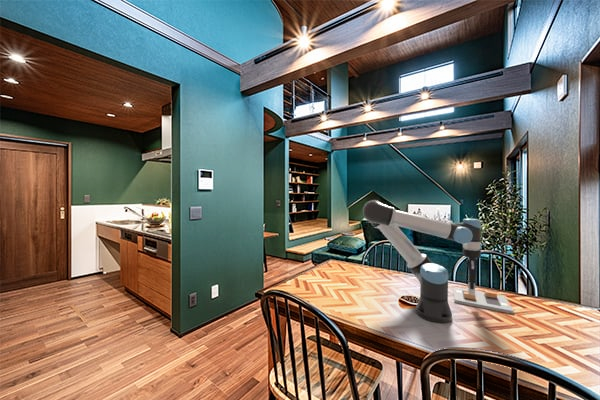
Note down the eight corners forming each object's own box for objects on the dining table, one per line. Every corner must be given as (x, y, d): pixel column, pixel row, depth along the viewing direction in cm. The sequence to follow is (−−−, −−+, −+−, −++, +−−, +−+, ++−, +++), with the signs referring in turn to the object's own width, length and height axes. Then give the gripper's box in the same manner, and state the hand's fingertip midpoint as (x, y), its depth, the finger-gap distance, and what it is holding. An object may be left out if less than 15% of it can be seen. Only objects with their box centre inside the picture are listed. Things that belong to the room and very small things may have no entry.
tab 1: (475, 299, 127) (475, 295, 127) (464, 297, 130) (464, 293, 130) (475, 297, 130) (475, 293, 130) (463, 295, 132) (463, 291, 132)
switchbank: (513, 314, 116) (513, 310, 116) (454, 302, 128) (454, 299, 128) (505, 298, 133) (505, 295, 133) (453, 289, 145) (453, 286, 145)
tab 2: (497, 298, 129) (497, 294, 129) (485, 296, 131) (485, 292, 131) (496, 296, 131) (496, 292, 131) (484, 294, 134) (484, 290, 134)
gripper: (482, 252, 115) (482, 301, 116) (479, 247, 126) (479, 291, 127) (463, 250, 119) (463, 297, 120) (462, 245, 130) (462, 288, 131)
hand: (471, 294), depth 123 cm, fingers closed
